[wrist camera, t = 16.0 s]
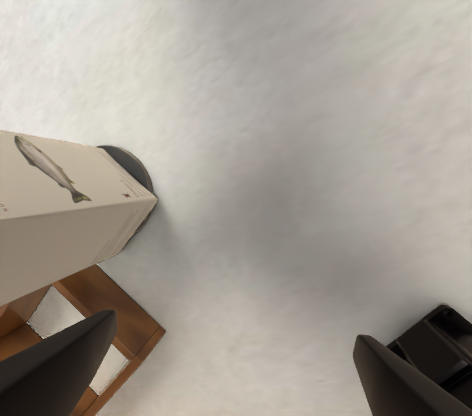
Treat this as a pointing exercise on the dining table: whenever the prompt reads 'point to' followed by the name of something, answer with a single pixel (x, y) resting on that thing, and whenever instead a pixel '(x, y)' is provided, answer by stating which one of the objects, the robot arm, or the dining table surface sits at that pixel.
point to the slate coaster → (131, 170)
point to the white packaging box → (61, 210)
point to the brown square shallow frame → (87, 303)
